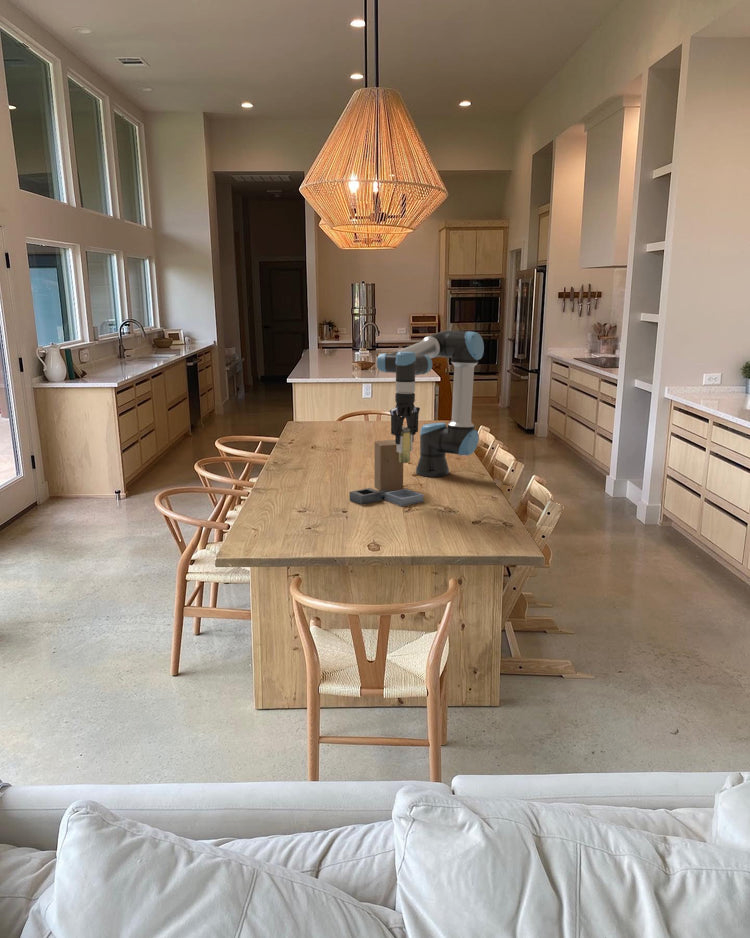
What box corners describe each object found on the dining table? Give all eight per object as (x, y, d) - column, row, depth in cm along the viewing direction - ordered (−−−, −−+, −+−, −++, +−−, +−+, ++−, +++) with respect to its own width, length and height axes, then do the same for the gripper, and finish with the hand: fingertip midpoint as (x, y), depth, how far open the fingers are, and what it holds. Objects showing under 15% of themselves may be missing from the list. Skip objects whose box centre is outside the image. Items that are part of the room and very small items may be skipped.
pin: (405, 459, 293) (405, 426, 290) (412, 461, 289) (412, 428, 286) (396, 461, 290) (396, 427, 287) (403, 463, 287) (404, 429, 284)
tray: (405, 495, 301) (405, 488, 300) (423, 501, 293) (423, 494, 292) (384, 500, 295) (384, 493, 294) (402, 506, 286) (402, 499, 285)
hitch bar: (384, 493, 305) (384, 484, 304) (397, 497, 298) (397, 489, 298) (349, 500, 294) (349, 491, 293) (361, 505, 288) (361, 496, 287)
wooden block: (380, 492, 306) (380, 445, 301) (374, 486, 315) (374, 440, 311) (403, 490, 309) (404, 444, 304) (396, 484, 318) (396, 439, 313)
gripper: (416, 389, 291) (415, 447, 297) (381, 393, 281) (381, 452, 287) (428, 391, 286) (427, 450, 291) (393, 395, 275) (393, 456, 281)
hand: (404, 451), depth 289 cm, fingers closed on pin, 4 cm apart
